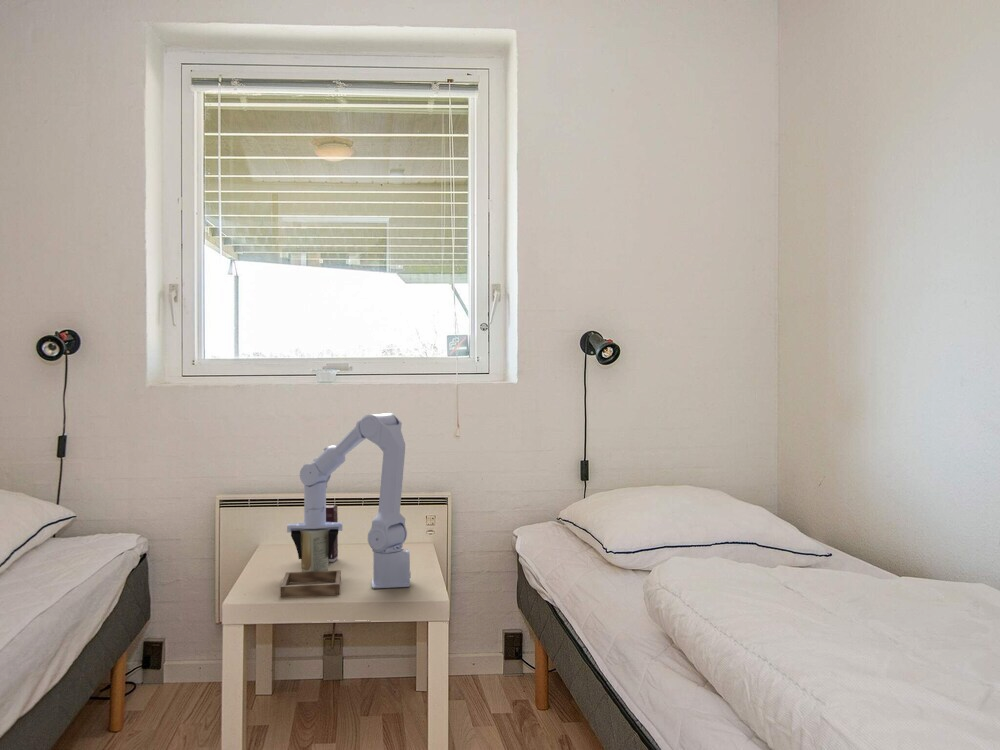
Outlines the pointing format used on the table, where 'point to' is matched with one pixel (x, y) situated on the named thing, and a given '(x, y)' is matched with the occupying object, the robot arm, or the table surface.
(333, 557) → the supplement box
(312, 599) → the table surface
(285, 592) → the walnut box
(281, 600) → the table surface
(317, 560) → the skincare box
